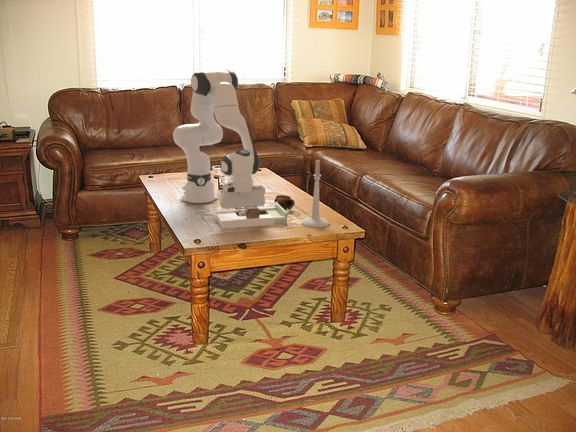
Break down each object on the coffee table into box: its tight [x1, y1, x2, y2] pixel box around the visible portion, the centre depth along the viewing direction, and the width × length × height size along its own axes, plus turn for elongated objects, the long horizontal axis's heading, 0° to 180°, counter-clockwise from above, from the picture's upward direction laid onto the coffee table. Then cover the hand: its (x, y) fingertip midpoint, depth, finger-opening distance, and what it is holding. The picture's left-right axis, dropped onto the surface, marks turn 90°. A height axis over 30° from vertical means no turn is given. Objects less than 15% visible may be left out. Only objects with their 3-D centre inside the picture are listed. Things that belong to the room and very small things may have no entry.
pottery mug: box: [274, 194, 295, 212], centre depth 304 cm, size 12×10×8 cm
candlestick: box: [300, 159, 330, 229], centre depth 280 cm, size 13×13×30 cm
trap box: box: [214, 202, 288, 230], centre depth 284 cm, size 16×30×6 cm, turn 107°
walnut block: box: [246, 206, 260, 219], centre depth 280 cm, size 5×5×4 cm
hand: (242, 216), depth 279 cm, fingers closed
